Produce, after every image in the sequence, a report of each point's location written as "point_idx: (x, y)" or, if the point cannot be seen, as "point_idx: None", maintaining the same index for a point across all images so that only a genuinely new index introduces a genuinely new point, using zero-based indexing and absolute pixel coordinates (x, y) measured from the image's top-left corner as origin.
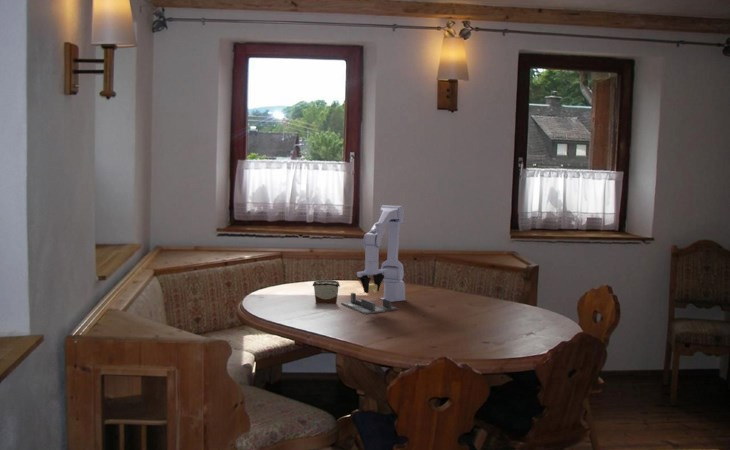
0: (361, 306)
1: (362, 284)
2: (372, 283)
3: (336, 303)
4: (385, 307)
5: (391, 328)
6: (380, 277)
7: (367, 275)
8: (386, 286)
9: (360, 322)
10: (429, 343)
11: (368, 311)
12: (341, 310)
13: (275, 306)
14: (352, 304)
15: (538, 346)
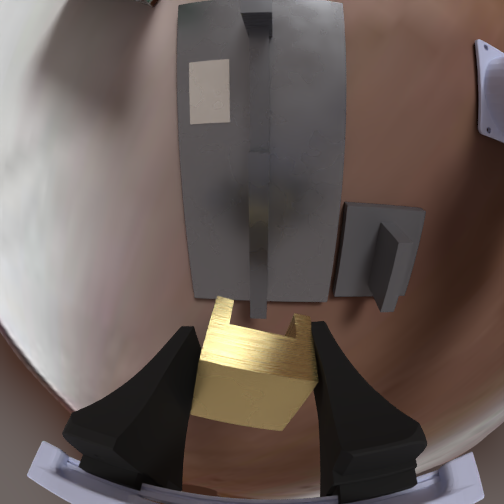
0: (246, 158)
1: (138, 376)
2: (284, 383)
3: (151, 4)
4: (367, 259)
5: (200, 430)
6: (320, 490)
7: (161, 494)
8: None
9: (132, 366)
10: (221, 476)
11: (218, 290)
12: (111, 156)
13: None
14: (215, 80)
15: None
